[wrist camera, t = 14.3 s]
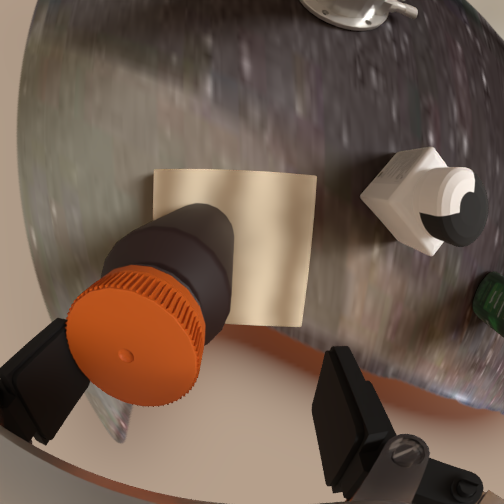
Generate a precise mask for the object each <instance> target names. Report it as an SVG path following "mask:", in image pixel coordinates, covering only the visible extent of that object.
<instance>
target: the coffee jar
mask: <svg viewBox="0 0 504 504" xmlns="http://www.w3.org/2000/svg"><path fill="white" fill-rule="evenodd" d="M473 311H474V312H475V314H476V315H477V316H478V317H479V318H480V319H481V320H482V321H483V322H485V323H486V324H487V325H488V326H490V327H491V328H492V329H494V330H495V331H496V332H498V333H499V334H500V335H501V336H502V337H504V276H503V275H501V274H499V273H497V272H490V273H489V274H488V275H487V276H486V277H485V278H484V279H483V280H482V282H481V284H480V285H479V287H478V289H477V291H476V294H475V297H474V300H473Z"/></svg>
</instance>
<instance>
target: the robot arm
mask: <svg viewBox="0 0 504 504" xmlns="http://www.w3.org/2000/svg"><path fill="white" fill-rule="evenodd" d="M299 1H300V2H301V3H302V5H303V6H304V7H305V8H306V9H307V10H308V11H310V12H311V13H312V14H314V15H315V16H316V17H318V18H320V19H321V20H323V21H325V22H327V23H329V24H332V25H334V26H337V27H341V28H344V29H349V30H355V31H365V30H372V29H374V28H377V27H379V26H380V25H381V24H382V23H383V22H384V21H385V20H386V18H387V17H388V13H389V12H391V13H394V12H395V11H396V12H398V13H401V14H402V15H405V16H407V17H410V18H412V19H415V18H416V17H417V14H418V11H417V9H416V8H415V7H412V6H410V5H408V4H405V3H401V2H398V1H397V0H299ZM399 1H402V2H404V1H405V0H399ZM67 321H68V320H65V319H61V318H57V319H55V320H54V321H53V322H52V323H51V324H49V325H48V326H47V327H46V328H45V329H44V330H42V331H41V332H40V333H39V334H38V335H36V336H35V337H34V338H33V339H32V340H31V341H29V342H28V343H27V344H26V345H25V346H24V347H23V348H22V349H20V351H18V352H17V353H16V354H15V355H14V356H13V357H12V358H11V359H9V361H7V362H6V363H5V364H4V365H3V366H2V367H1V368H0V504H224V503H214V502H206V501H199V500H192V499H186V498H179V497H175V496H169V495H165V494H160V493H155V492H151V491H148V490H144V489H140V488H136V487H133V486H129V485H126V484H123V483H119V482H116V481H113V480H110V479H107V478H105V477H102V476H99V475H96V474H94V473H91V472H88V471H86V470H83V469H81V468H78V467H76V466H74V465H72V464H69V463H67V462H65V461H63V460H60V459H59V458H56V457H54V456H53V455H50V454H48V453H47V452H45V451H42V450H41V449H39V448H37V447H35V446H34V445H32V440H31V439H32V437H33V436H34V438H35V439H36V440H37V441H39V442H40V443H42V444H44V445H47V443H48V442H49V440H52V439H53V438H54V436H55V435H56V433H57V432H58V430H59V429H60V427H61V426H62V424H63V423H64V421H65V420H66V418H67V416H68V415H69V414H70V412H71V411H72V409H73V408H74V406H75V405H76V403H77V402H78V400H79V399H80V398H81V396H82V395H83V393H84V392H85V390H86V389H87V388H88V386H89V383H90V380H89V379H88V377H87V376H85V374H84V373H83V372H82V371H81V369H80V368H79V367H78V365H77V363H76V361H75V359H74V358H73V355H72V354H71V351H70V349H69V344H68V343H67V342H68V339H67V338H66V337H67V334H66V331H67V329H66V328H65V327H66V326H67V324H66V322H67ZM312 415H313V420H314V425H315V430H316V435H317V440H318V445H319V450H320V455H321V460H322V466H323V471H324V476H325V481H326V485H327V486H332V491H333V493H338V492H343V496H344V498H346V501H345V502H334V503H321V504H504V499H502V498H501V497H499V496H497V495H496V494H494V493H493V492H491V491H490V490H488V491H487V492H486V493H485V492H484V491H483V484H482V481H481V479H480V478H479V477H478V476H477V475H476V474H474V473H472V472H470V471H466V470H463V469H460V468H457V467H454V466H451V465H448V464H445V463H442V462H440V461H437V460H434V459H431V458H429V455H430V452H429V447H428V446H427V444H426V443H425V442H424V441H423V440H422V439H421V438H419V437H417V436H415V435H410V434H400V435H396V433H395V431H394V429H393V427H392V425H391V422H390V420H389V418H388V416H387V414H386V412H385V410H384V408H383V406H382V404H381V402H380V399H379V397H378V395H377V393H376V391H375V389H374V387H373V385H372V384H371V382H370V381H365V379H364V377H363V375H362V372H361V370H360V368H359V366H358V364H357V362H356V360H355V358H354V356H353V354H352V352H351V350H350V348H349V347H348V346H333V347H331V349H330V351H326V352H325V355H324V360H323V364H322V368H321V372H320V376H319V380H318V384H317V389H316V392H315V396H314V400H313V403H312Z"/></svg>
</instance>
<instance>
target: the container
mask: <svg viewBox="0 0 504 504" xmlns="http://www.w3.org/2000/svg"><path fill="white" fill-rule="evenodd" d="M360 198H361V200H362V201H363V202H364V203H365V204H366V205H367V206H368V207H369V208H370V209H371V211H372V212H373V213H374V214H375V215H376V216H377V217H378V218H379V220H380V221H381V222H382V223H383V224H384V225H385V226H386V228H387V229H388V230H389V231H390V232H391V233H392V235H393V236H394V237H395V238H396V239H397V241H399V242H401V243H403V244H405V245H408V246H410V247H412V248H414V249H416V250H418V251H420V252H422V253H425V254H427V255H429V256H433V255H434V254H435V252H436V251H437V250H438V248H439V247H440V246H441V245H442V243H443V242H446V243H449V244H452V245H454V246H457V247H464V246H468V245H470V244H471V243H473V242H474V241H475V240H476V239H477V238H478V237H479V236H480V234H481V233H482V231H483V229H484V227H485V224H486V221H487V216H488V198H487V193H486V190H485V187H484V185H483V183H482V181H481V180H480V178H479V177H478V176H477V175H476V173H475V172H473V171H472V170H470V169H468V168H465V167H447V165H446V164H445V163H444V161H443V160H442V158H441V157H440V155H439V154H438V153H437V151H436V150H435V149H434V148H433V147H426V148H419V149H413V150H407V151H401V152H397V153H396V154H395V155H394V156H393V157H392V159H391V160H390V161H389V162H388V163H387V165H386V166H385V167H384V168H383V169H382V170H381V172H380V173H379V174H378V175H377V176H376V177H375V179H374V180H373V181H372V182H371V183H370V184H369V186H368V187H367V188H366V189H365V190H364V191H363V192H362V194H361V195H360Z"/></svg>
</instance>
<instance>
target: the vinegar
mask: <svg viewBox="0 0 504 504" xmlns="http://www.w3.org/2000/svg"><path fill="white" fill-rule="evenodd" d="M233 255H234V232H233V227H232V224H231V223H230V221H229V219H228V218H227V216H226V215H225V214H224V213H223V212H222V211H220V210H219V209H218V208H216V207H214V206H211V205H209V204H203V203H194V204H190V205H186V206H184V207H182V208H180V209H177V210H175V211H173V212H171V213H169V214H167V215H164V216H162V217H160V218H158V219H156V220H154V221H152V222H150V223H148V224H146V225H144V226H142V227H140V228H138V229H136V230H134V231H132V232H131V233H129V234H128V235H126V236H125V237H124V238H122V239H121V240H119V241H118V242H117V243H116V244H115V245H114V247H113V248H112V250H111V251H110V253H109V255H108V256H107V258H106V259H105V262H104V266H103V270H102V275H101V279H100V280H98V281H97V282H95V283H94V284H93V285H91V286H90V287H89V288H88V289H86V290H85V291H84V292H83V293H81V294H80V295H79V296H78V297H77V299H76V300H74V303H73V304H72V305H71V306H72V307H71V308H70V309H69V310H70V312H68V313H67V314H68V317H67V318H66V319H67V320H68V321H67V322H66V324H67V326H66V327H65V328H66V329H67V331H66V334H67V337H66V338H67V339H68V342H67V343H68V344H69V349H70V351H71V354H72V355H73V358H74V359H75V361H76V363H77V365H78V367H79V368H80V369H81V371H82V372H83V373H84V374H85V376H87V377H88V379H89V380H90V381H91V382H92V383H93V384H95V385H96V386H97V387H98V388H100V389H101V390H102V391H104V392H105V393H107V394H108V395H110V396H112V397H115V398H117V399H119V400H121V401H123V402H126V403H130V404H132V405H133V404H135V405H140V406H148V407H149V406H153V407H154V406H161V405H163V406H164V405H165V404H167V405H168V404H169V403H170V402H171V403H173V401H177V400H178V399H181V398H182V396H185V394H186V393H189V390H191V389H192V386H194V383H195V382H196V380H197V378H198V374H199V371H200V365H201V360H202V354H203V349H204V346H205V345H207V344H208V343H209V342H210V341H211V340H212V339H213V338H214V337H215V336H216V335H217V334H218V333H219V332H220V331H221V330H222V328H223V326H224V324H225V322H226V320H227V317H228V315H229V313H230V308H231V296H232V277H233Z"/></svg>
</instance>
